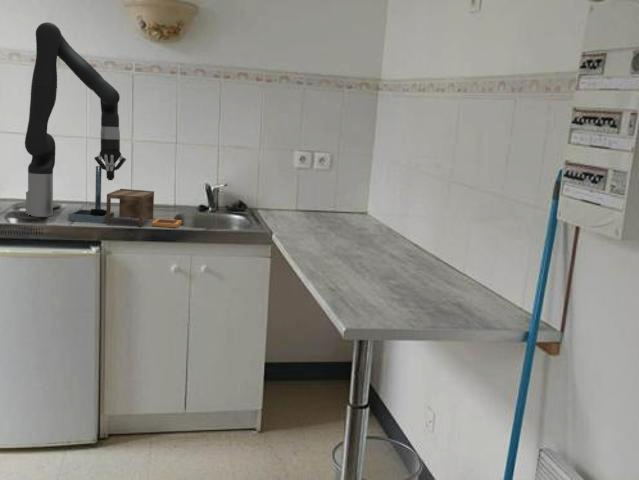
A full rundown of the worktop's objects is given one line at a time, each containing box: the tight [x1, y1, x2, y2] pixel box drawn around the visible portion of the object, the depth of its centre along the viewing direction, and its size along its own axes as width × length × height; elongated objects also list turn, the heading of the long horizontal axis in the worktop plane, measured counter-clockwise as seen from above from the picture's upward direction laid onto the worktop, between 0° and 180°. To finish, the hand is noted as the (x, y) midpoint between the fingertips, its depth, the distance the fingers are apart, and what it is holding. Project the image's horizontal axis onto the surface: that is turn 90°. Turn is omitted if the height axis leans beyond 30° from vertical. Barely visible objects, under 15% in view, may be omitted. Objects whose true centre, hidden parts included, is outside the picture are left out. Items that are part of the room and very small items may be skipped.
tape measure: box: [90, 208, 107, 216], centre depth 274 cm, size 7×7×4 cm
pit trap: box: [151, 218, 183, 229], centre depth 273 cm, size 10×11×2 cm
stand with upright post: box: [67, 165, 115, 224], centre depth 271 cm, size 14×16×21 cm
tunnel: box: [105, 188, 155, 228], centre depth 272 cm, size 14×20×12 cm
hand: (110, 180), depth 277 cm, fingers closed
